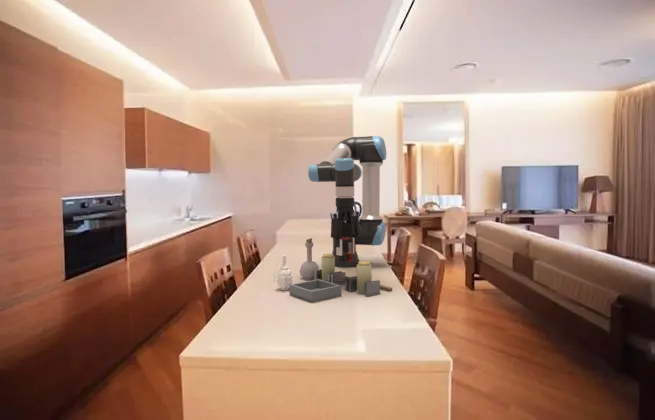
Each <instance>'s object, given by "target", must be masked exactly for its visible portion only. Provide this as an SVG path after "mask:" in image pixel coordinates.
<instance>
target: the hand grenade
mask: <svg viewBox="0 0 655 420" xmlns="http://www.w3.org/2000/svg"><path fill="white" fill-rule="evenodd" d="M286 256H287V255H286V254H283V256H282V259H280V260H277V261H276V263H278V262H282V264H281V265H280V266H279V265H277V267H276V268H274V271H273V272H274V273H273V274H274V275H273V283H275V278H276V279H277V280H276V284H277V287H278V288H279V289H280V290H281V291H288V290H290V285H291V284H293V274H292V270H290V269H289V266H288V265H287V257H286ZM278 268H280V269H279V270H278V271H277V273H276V269H278ZM276 274H277V275H276Z"/></svg>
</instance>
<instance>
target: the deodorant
mask: <svg viewBox="0 0 655 420" xmlns="http://www.w3.org/2000/svg"><path fill="white" fill-rule="evenodd" d="M340 239H342V256H340V255H338V260H339V261H352V260H353V223H347V222H345V223H344V224H342V233H341V238H340Z"/></svg>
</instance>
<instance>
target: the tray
mask: <svg viewBox="0 0 655 420" xmlns="http://www.w3.org/2000/svg"><path fill="white" fill-rule="evenodd" d="M289 296H291V297H294V298H296V299H300V300H302V299H303V301H305V300H306V302H308V301H309V303H311V302H313V303H317V302H320V301H321V300H322V301H326V300H330V299H334V298H338V297H342V285H337V284H334V283H330V282H327V281H323V280H319V279H317V280H306V281H302V282H297V283H292V284H291V285H290V288H289ZM316 301H317V302H316ZM322 301H321V302H322Z"/></svg>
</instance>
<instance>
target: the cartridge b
mask: <svg viewBox="0 0 655 420" xmlns="http://www.w3.org/2000/svg"><path fill="white" fill-rule="evenodd" d="M356 276H357V291H356V293H357V294H359V295H365V283H367V282H372V264H371V262H370V261H368V260H359V262H358V264H357V266H356Z"/></svg>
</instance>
